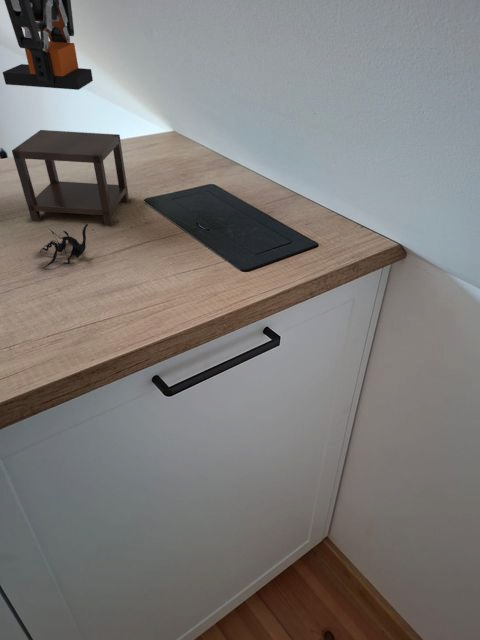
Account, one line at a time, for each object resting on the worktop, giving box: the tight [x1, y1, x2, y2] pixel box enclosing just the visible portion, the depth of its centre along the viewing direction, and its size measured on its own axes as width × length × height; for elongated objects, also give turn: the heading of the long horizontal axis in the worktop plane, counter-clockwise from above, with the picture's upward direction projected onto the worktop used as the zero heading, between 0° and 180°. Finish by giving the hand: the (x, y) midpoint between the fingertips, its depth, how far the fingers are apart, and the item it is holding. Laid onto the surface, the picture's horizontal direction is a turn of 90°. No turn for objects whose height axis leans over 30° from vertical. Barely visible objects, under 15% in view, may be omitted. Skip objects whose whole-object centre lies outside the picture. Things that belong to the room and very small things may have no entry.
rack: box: [11, 129, 130, 227], centre depth 85 cm, size 14×11×12 cm
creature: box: [39, 223, 89, 269], centre depth 74 cm, size 8×5×8 cm
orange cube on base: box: [2, 40, 94, 91], centre depth 66 cm, size 10×6×4 cm, turn 85°
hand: (56, 79), depth 67 cm, fingers closed on orange cube on base, 5 cm apart
